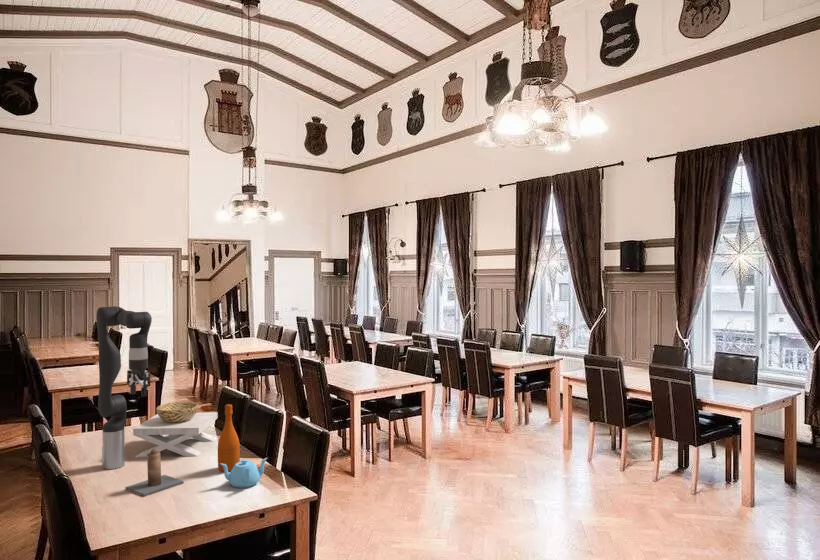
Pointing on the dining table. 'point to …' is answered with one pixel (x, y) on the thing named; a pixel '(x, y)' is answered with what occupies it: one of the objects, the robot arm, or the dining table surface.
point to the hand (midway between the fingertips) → (138, 395)
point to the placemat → (146, 490)
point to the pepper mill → (154, 468)
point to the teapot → (244, 473)
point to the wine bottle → (228, 443)
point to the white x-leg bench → (175, 428)
